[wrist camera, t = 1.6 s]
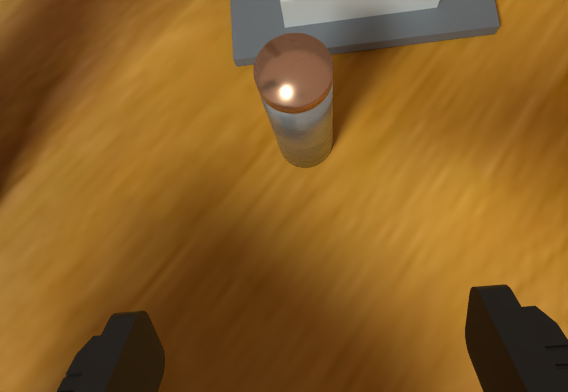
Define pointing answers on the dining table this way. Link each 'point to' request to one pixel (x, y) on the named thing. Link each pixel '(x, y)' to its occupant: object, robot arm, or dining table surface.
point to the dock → (357, 23)
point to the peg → (298, 96)
